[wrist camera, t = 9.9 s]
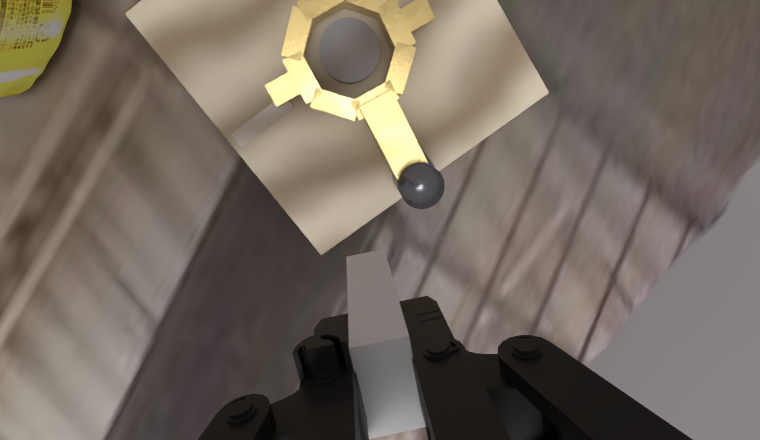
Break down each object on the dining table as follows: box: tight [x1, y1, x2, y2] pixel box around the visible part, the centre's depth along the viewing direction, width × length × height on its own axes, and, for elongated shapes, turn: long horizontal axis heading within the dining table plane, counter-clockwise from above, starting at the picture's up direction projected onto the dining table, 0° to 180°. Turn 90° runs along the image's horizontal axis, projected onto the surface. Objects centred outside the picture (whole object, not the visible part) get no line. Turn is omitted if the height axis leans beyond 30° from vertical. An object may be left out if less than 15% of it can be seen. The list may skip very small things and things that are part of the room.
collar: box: [265, 0, 444, 209], centre depth 29 cm, size 12×16×5 cm
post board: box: [125, 0, 549, 255], centre depth 31 cm, size 22×22×5 cm
